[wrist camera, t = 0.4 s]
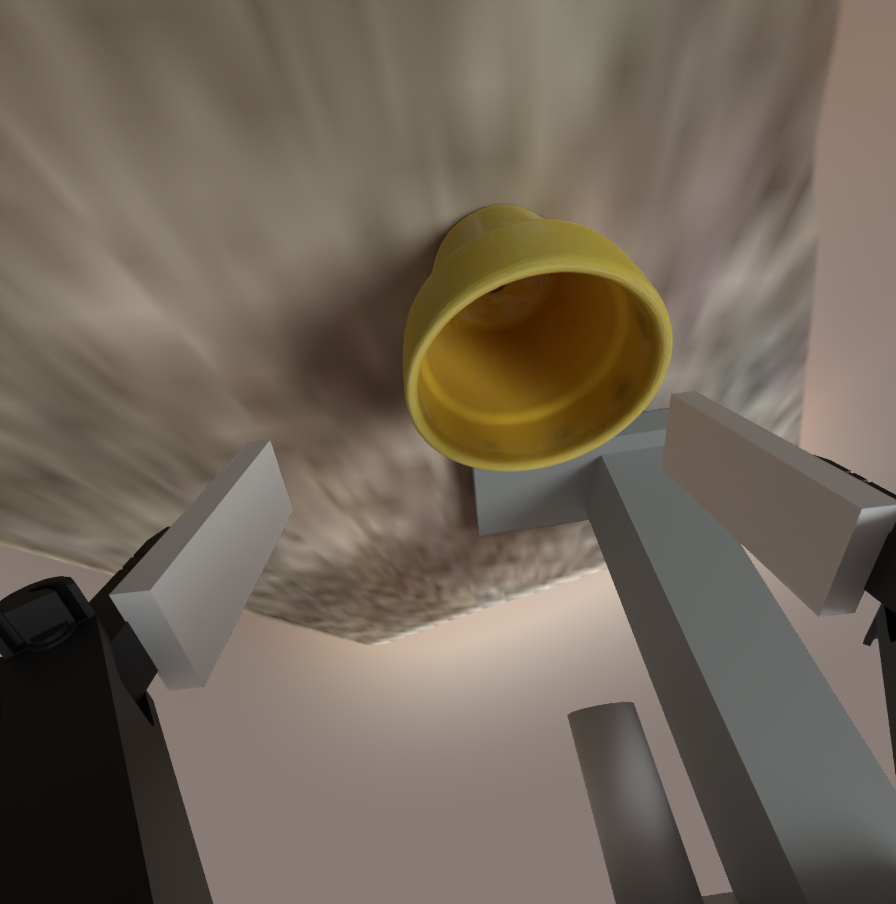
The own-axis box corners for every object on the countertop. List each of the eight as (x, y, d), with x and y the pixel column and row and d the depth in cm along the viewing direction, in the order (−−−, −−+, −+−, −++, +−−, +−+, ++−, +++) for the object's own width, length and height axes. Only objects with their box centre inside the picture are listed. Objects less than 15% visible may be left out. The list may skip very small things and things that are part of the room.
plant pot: (381, 337, 25) (383, 466, 18) (418, 127, 17) (444, 222, 11) (538, 363, 28) (587, 482, 21) (628, 192, 20) (744, 296, 14)
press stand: (456, 440, 32) (579, 1148, 13) (673, 407, 32) (1115, 1065, 13) (465, 520, 42) (546, 1005, 22) (635, 494, 42) (862, 957, 22)
